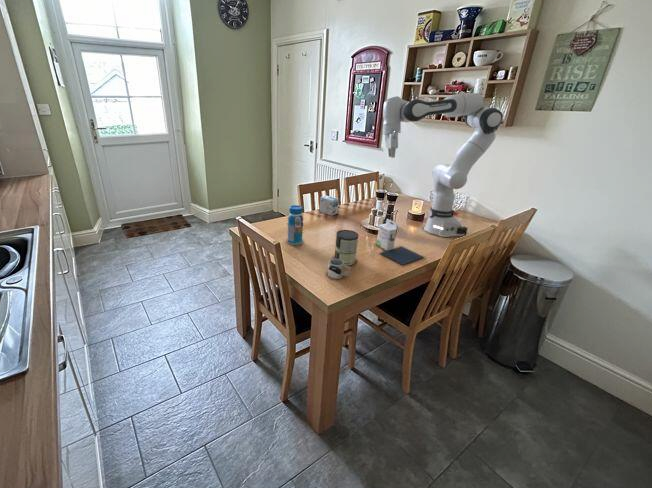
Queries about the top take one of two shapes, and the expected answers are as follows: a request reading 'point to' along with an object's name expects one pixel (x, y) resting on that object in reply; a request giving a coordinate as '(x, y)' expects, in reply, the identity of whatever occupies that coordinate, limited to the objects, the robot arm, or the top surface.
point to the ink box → (387, 235)
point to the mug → (337, 269)
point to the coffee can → (346, 246)
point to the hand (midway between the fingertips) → (391, 157)
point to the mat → (402, 255)
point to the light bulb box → (329, 205)
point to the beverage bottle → (295, 225)
